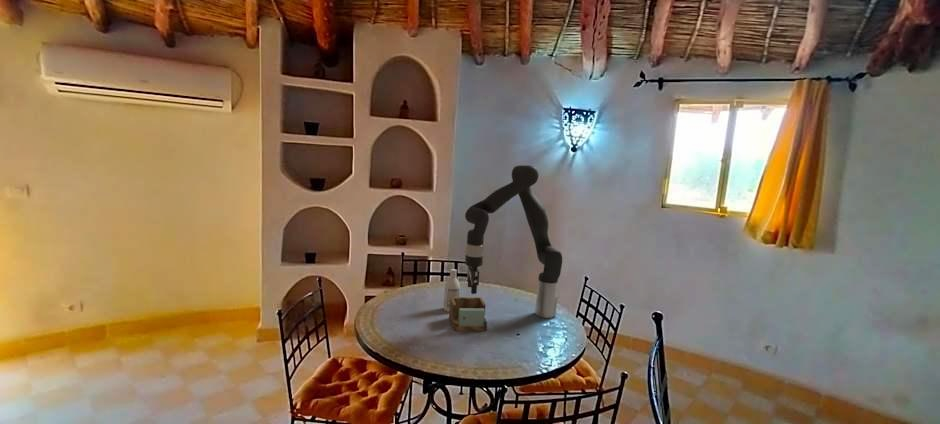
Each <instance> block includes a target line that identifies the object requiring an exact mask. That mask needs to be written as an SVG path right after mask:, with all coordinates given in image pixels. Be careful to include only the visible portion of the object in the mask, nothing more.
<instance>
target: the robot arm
mask: <svg viewBox="0 0 940 424" xmlns="http://www.w3.org/2000/svg"><path fill="white" fill-rule="evenodd" d="M511 180H512V181H511V182H510V183H508V184H506V185H504V186H502V187H500V188H497V189H496V190H494V191H492V193H490V194H489V195H488V196H487V197H486V198H485V199H483V200H480V201H479V202H477V203H475V204H472V205H471V206H470V207H469V208H468V209H467V210H466V211H465V215H464V217H465V220H466V221H467V223H470V224H471V225H472V224H473V225H474V226H473V229H470V230H468V232H467V234H466V235H467V236H466V245H465V246H466V247H465V259H464V264H465V265H466V266H467V271H466V276H467V287H468V288H470V289H471V290H470V293H471V295H476V294H477V292H478V291H477V290H478V289H477V288H478V286H479V282H480V271H479V269H478V268H479V267H482V266H483V262H484V261H483V259H484V242H485V241H484V240H485V239H484V237H485V233H486V230H487V228H488V224H489V221H490V218H489V217H490V216H489V214H493V213H494V214H495V212H497V211H498V210H499V209H501V207H503V206H504V205H505V204H506V203H508V202H509V201H510V200H511V199H512V198H514V197H515V196H517V195H518V196H519V199H520V203H521V206H522V208H523V210H524V214H525V218H526V222H527V223H528V227H529V229H530V233H531V237H532V239H533V241H534V245H535V250H536V255H537V259H538V261H539V262H540V263H541V264H542V265H543V271H542V272H540V273H539V274H538V279H537V291H536V299H535V308H534V309H535V310H534V314H535V316H536V317H540V318H542V319H543V318H545V319H551V318H553V317H554V318H555V317H556V315H557V307H558V296H557V292H558V282H559V278H560V276H561V273H562V272H561V271H562V265H563V255H562V252H560V251H559V250H558V249H556V248H554V247H553V245H552V244H551V241H550V238H549V233H548V232H549V220H548V219H549V218H548V216H547V212H546V209H545V206H543V204H542V203H541V201H540V200H539V199H538V198H537V196H536V194H535V193H534V192H533V190H532V188H531V187H532V186H533V185H535V184H536V183H537V181H538V180H539V171H538V168H536V167H535V166H532V165H522V164H521V165H515V166H514V167H513V169H512V170H511Z"/></svg>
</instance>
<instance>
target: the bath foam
mask: <svg viewBox="0 0 940 424" xmlns="http://www.w3.org/2000/svg"><path fill="white" fill-rule="evenodd" d="M457 270H458V269H455V268H451V269H450V270H449V271H450V273H449V277H448V279H447V280H446V282H445V286H444V298H443V311H445V312H448V313H449V311H450V297H460V290H461V289H460V288H461V287H460V286H461V285H460V282H459V280H458V277H457Z"/></svg>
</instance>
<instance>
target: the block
mask: <svg viewBox="0 0 940 424" xmlns="http://www.w3.org/2000/svg"><path fill="white" fill-rule="evenodd" d="M484 317H486V309H485V310H484V308H459V318H458V327H469V326H484Z"/></svg>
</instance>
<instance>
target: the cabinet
mask: <svg viewBox="0 0 940 424" xmlns="http://www.w3.org/2000/svg"><path fill="white" fill-rule="evenodd" d="M486 307H487V306H486V303H485V301H484V299H483V297H470V296H469V297H467V296H466V297H463V296H462V297H460V296H459V297H450V311H449V312H448V313H449V315H448V319H449V322H450V325H451V328H452V331H453V332H477V331H478V332H486V331H487V329H488V328H487V326H488V322H487V319H486V318H485V317H486V316H485V317H484V326H469V327H458V318H459V308H484V310H485V311H486Z"/></svg>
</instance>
